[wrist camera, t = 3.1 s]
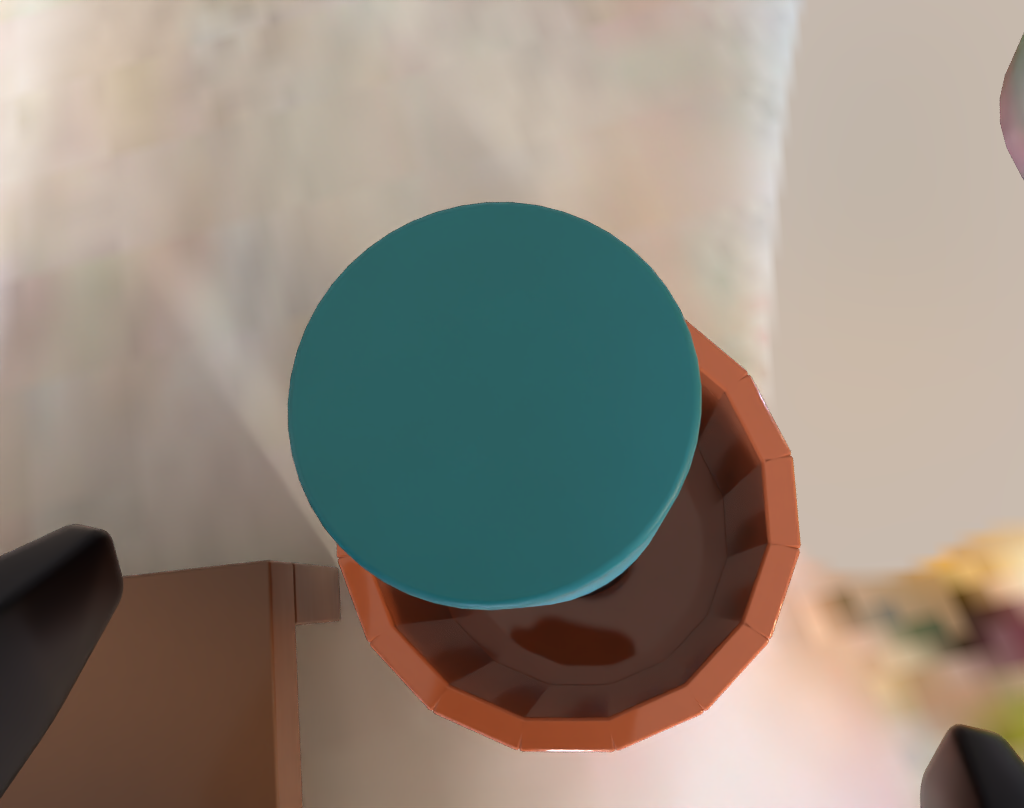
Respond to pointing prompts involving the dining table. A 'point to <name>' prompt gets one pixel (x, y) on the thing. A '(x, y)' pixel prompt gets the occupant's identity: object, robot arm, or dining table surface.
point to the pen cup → (620, 604)
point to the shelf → (187, 695)
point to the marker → (495, 407)
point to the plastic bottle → (1014, 108)
